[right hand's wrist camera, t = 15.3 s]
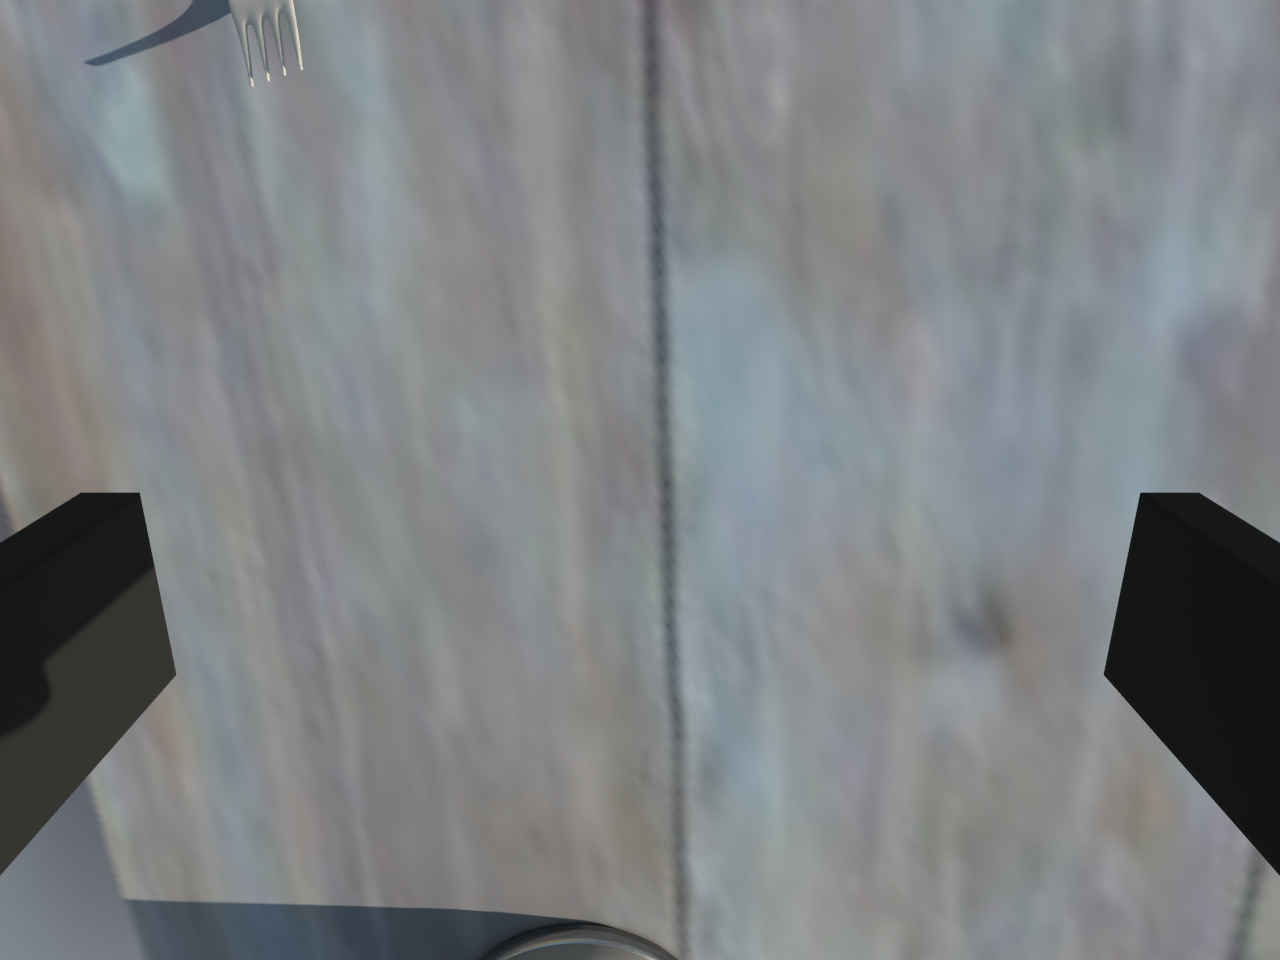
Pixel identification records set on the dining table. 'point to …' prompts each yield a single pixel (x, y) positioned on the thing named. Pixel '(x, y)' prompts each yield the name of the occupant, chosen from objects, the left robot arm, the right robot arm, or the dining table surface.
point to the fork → (252, 6)
